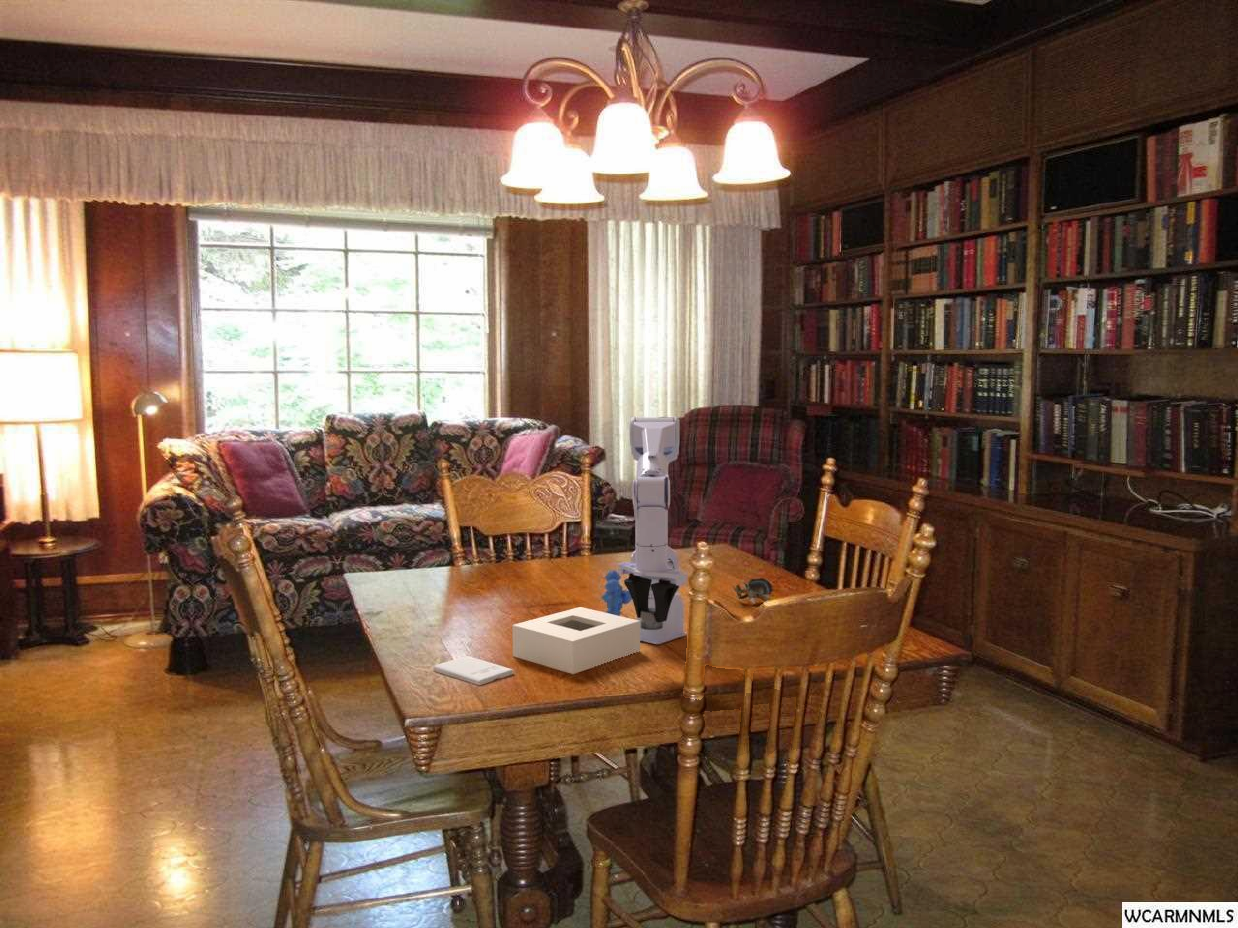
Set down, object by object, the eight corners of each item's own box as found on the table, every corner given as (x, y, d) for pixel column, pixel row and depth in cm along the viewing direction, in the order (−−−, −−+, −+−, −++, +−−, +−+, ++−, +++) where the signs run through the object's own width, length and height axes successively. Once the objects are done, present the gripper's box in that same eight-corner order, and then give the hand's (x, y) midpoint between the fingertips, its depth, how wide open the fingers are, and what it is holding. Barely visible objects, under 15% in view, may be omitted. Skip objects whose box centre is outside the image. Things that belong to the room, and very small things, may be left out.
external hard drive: (468, 663, 184) (514, 676, 176) (433, 674, 178) (479, 688, 170) (468, 654, 184) (514, 668, 176) (433, 665, 178) (479, 679, 170)
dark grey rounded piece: (650, 622, 180) (650, 606, 179) (667, 626, 177) (667, 610, 176) (635, 627, 177) (635, 610, 176) (652, 631, 174) (652, 614, 174)
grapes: (634, 632, 202) (634, 574, 200) (601, 632, 202) (600, 574, 200) (633, 617, 213) (632, 562, 212) (601, 617, 213) (601, 562, 212)
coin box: (580, 635, 200) (580, 606, 199) (640, 651, 189) (640, 620, 188) (512, 656, 186) (512, 624, 186) (572, 674, 176) (572, 641, 175)
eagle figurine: (733, 603, 220) (773, 598, 218) (731, 573, 224) (771, 568, 221) (741, 614, 227) (780, 610, 224) (740, 585, 230) (778, 580, 227)
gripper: (606, 541, 177) (606, 616, 179) (668, 552, 167) (668, 630, 169) (632, 536, 182) (632, 608, 184) (694, 546, 172) (694, 622, 174)
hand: (651, 618), depth 177 cm, fingers closed on dark grey rounded piece, 4 cm apart
